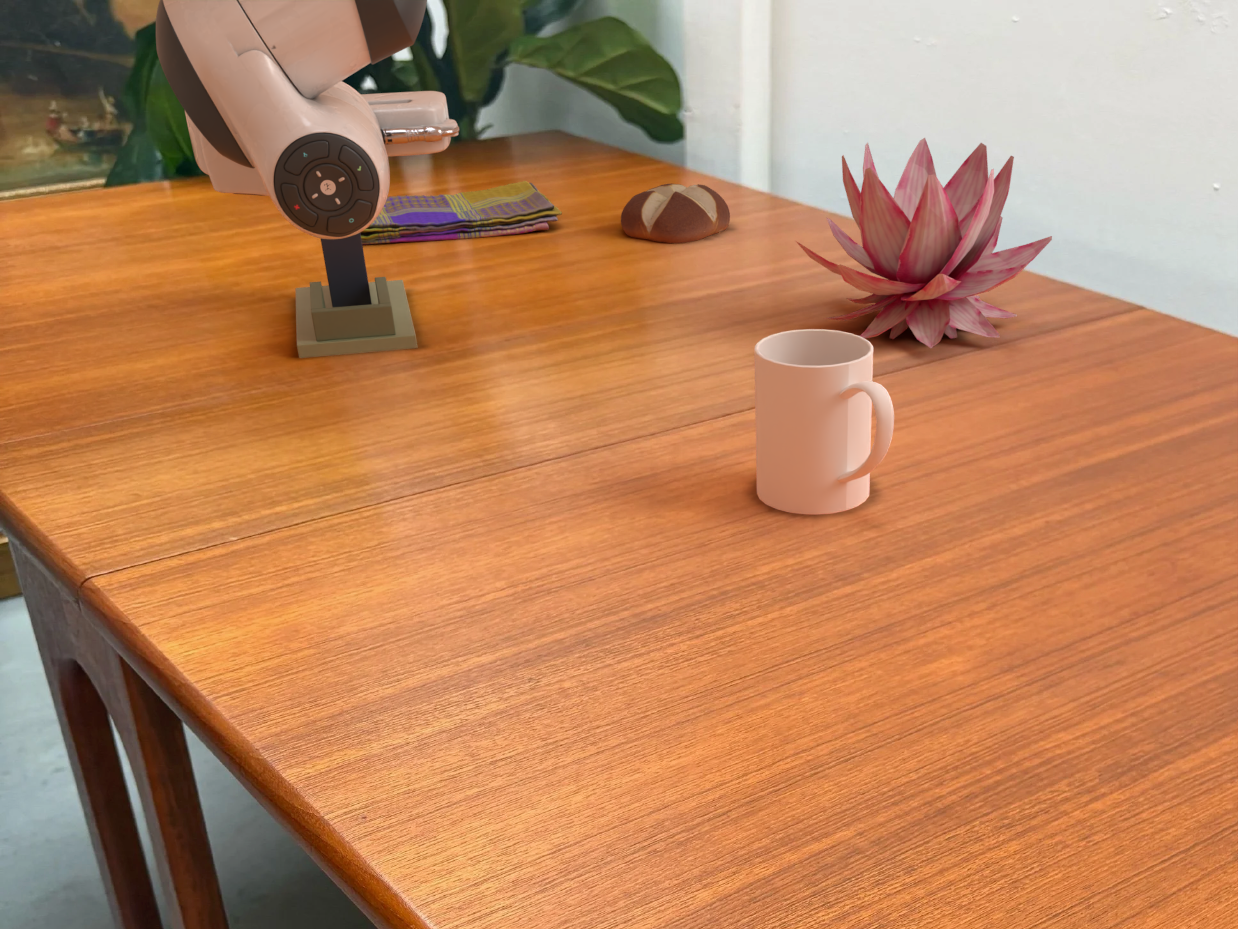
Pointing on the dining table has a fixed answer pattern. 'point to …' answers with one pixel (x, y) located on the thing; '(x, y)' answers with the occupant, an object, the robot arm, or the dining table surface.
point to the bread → (675, 214)
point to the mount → (351, 307)
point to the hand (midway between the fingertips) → (319, 109)
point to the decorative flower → (929, 247)
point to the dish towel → (462, 215)
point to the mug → (817, 420)
